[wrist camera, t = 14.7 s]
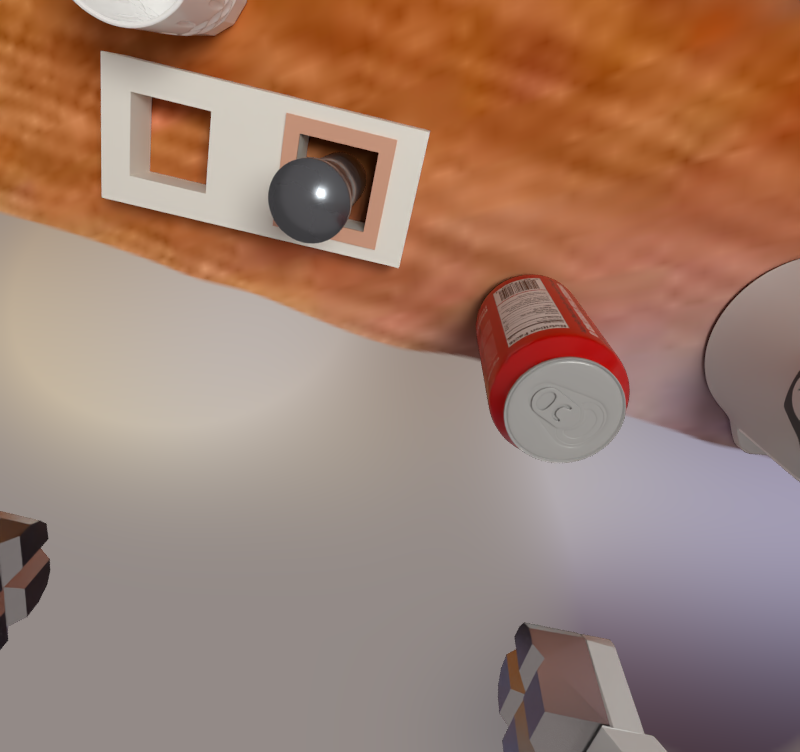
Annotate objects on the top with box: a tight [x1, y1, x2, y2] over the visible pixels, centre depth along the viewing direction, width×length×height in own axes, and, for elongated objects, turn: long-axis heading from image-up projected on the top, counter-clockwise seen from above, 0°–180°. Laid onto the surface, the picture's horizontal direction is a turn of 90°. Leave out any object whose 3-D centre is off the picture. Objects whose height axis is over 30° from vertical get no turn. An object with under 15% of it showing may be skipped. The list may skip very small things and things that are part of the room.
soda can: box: [476, 274, 630, 463], centre depth 37 cm, size 8×8×15 cm
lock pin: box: [268, 152, 366, 244], centre depth 35 cm, size 4×4×11 cm
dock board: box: [101, 51, 430, 268], centre depth 39 cm, size 21×9×3 cm, turn 77°
